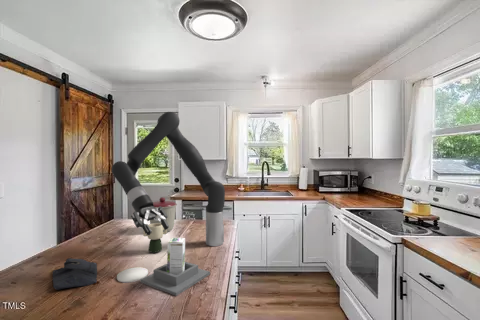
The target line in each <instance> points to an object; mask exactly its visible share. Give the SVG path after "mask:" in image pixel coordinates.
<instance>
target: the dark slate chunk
mask: <svg viewBox="0 0 480 320" xmlns="http://www.w3.org/2000/svg"><path fill="white" fill-rule="evenodd" d="M97 278H98V264H97V262H94V261H87V260H86V259H83V258H70V257H69V258H67V259H66V260H65V262H64V263H63V267H61V268H57V269H54V270H53V271H52V284H53V289H55V290H56V291H57V290H58V291H59V290H63V289H70V288H78V287H85V286H91V285H93V284H96V283H97V281H98V280H97Z"/></svg>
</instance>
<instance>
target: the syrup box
mask: <svg viewBox="0 0 480 320" xmlns="http://www.w3.org/2000/svg"><path fill="white" fill-rule="evenodd" d="M166 258H167V260H166V264H167V272H168V273H171V274H174V275H178V274H180V273H181V272H183V271H185V262H186V238H185V237H172V238H171V237H170V239H169V240H168V242H167V255H166Z"/></svg>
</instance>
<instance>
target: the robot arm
mask: <svg viewBox="0 0 480 320" xmlns="http://www.w3.org/2000/svg"><path fill="white" fill-rule="evenodd" d="M179 125H180V117H179V115H178V114H176V113H175V112H173V111H167V112H164V113H162V114H161V115H160V116H159V117H158V119H157V123H156V125H155V126H154V128H153V129H152V130H151V131H150V132H149V133H148V134H147V135H146V136H145V137H144V138H142V139H141V140H140V141H139V142H138V143H137V144H136V145H135V147H133V148H132V149H131V151H129V153H128V154H127V158H128V160H127V162H125V161H121V160H120V161H116V162H115V163H114V164H112V166H111V173H112V175H113V176H114V178H115V179H116V181H117V182H118V183H119V185H120V186H121V187H122V190H123V191H124V193H125V195H126V196H127V198H128V201H129V203H130V205H131V206H132V208H133V210H134V211H133V213H132V214H131V216H130V217H131V219H132V222H133V223H134V225H135V228H137V229H139V228H141V229H142V230H143V231H145V233H146V234H147V235H150V234H151V233H152V231H151V229H150V227H149V226H148V225H149V224H148V223H147V222H150V220H156V221H159V222H161V224H162V226H163V228H164V229H165V230H167V229H168V228H169V225H168V223H167V222H166V218H167V217H168V215H167V214H166V213H165V211H164V210H163V208H162V207H161V206H160V207H159V208H157V209H156V208H155V207H154V205H153V202H154V201H153V200H152V199H151V197H150V195H149V194H148V192H147V190H145V188H144V187H143V185H142V184H141V182H140V180H138V178H136V177H135V175H136V174H137V172H138V170H139V169H140V167H141V165H142V163H143V162H144V161H145V160H146V159H147V158H148V157H149V156H150V155H151V153H152V152H153V151H154V150H156V148H157V146H158V145H159V144H160V143H161V142H162V141H163V140H164V139H165V138H167V139H168V141H169V142H170V143H171V144H172V146H173V148H174V149H175V151H176V152H177V154H178V156H179V157H180V159H181V160H182V161H183V164H185V166H186V168H187V169H188V170H189V172H191V174H192V175H193V177H195V179H196V180H197V182H198V183H199V185H200V187H201V189H202V190H203V193H204V194H205V196H207V205H206V206H205V245H207V246H209V247H218V246H222V245H223V244H224V242H225V225H224V208H225V197H226V196H225V194H226V193H225V192H226V190H225V186H224V184H223V182H222V183H221V182H220V181H216V180H215V179H214V178H213V177H212V175H211V174H210V172H209V171H208V168H207V166H206V163H205V159H204V158H203V156H202V155H201V153H200V152H199V150H198V148H196V146H195V144H193V143H192V142H190V140H188V139H187V138H186V137H185V136H184V135H183V133H182V132H181V130H180V128H179ZM156 215H158V216H157V217H156ZM163 215H164V216H163ZM160 218H161V219H160Z"/></svg>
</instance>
